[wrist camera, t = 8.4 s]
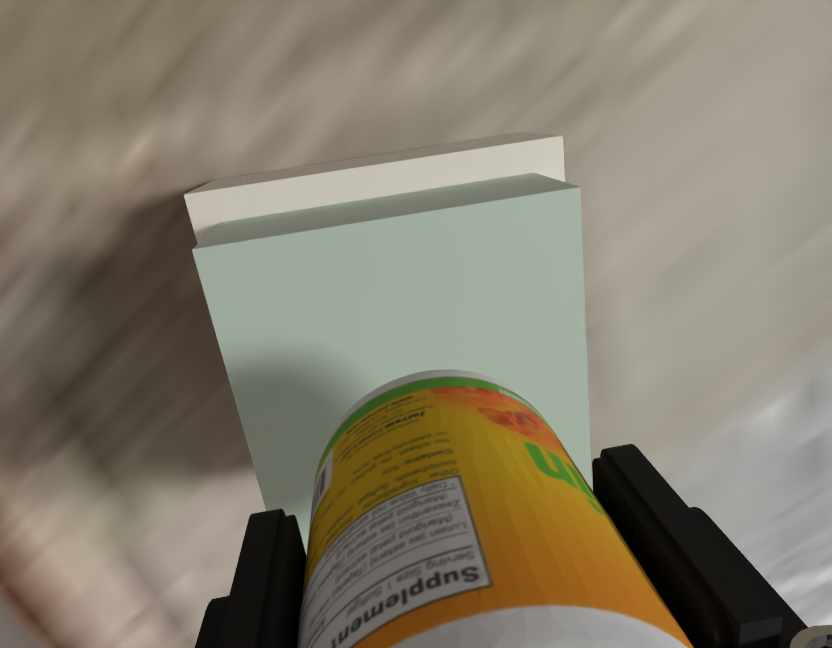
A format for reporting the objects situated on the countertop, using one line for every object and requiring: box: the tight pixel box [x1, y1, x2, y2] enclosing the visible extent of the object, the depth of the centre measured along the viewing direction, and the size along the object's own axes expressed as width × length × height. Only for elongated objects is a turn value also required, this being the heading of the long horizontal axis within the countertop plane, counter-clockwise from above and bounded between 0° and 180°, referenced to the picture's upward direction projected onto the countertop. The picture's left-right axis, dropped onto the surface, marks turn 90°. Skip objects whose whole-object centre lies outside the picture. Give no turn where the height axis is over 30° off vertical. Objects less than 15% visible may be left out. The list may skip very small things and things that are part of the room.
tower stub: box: [184, 132, 592, 556], centre depth 20 cm, size 12×12×8 cm
